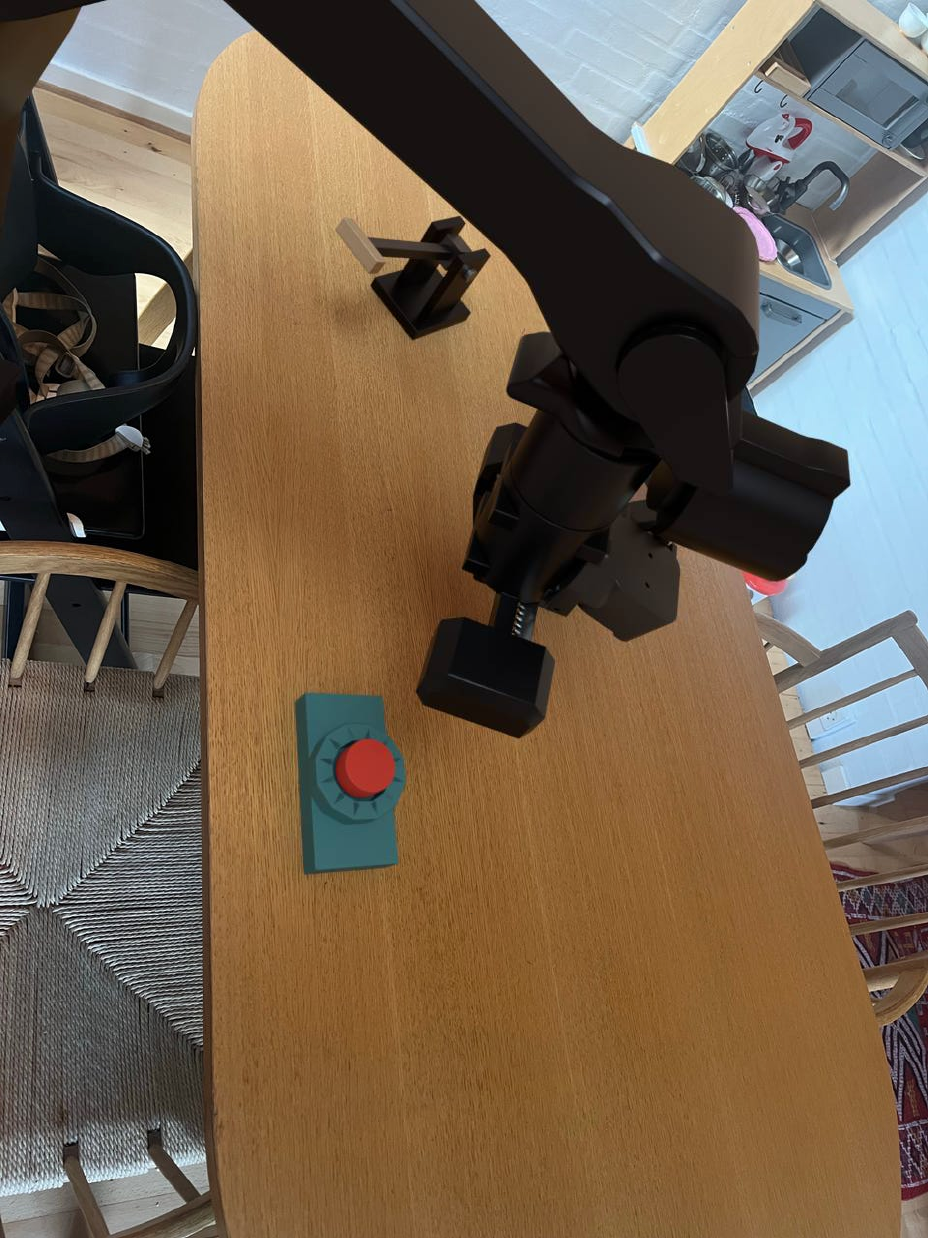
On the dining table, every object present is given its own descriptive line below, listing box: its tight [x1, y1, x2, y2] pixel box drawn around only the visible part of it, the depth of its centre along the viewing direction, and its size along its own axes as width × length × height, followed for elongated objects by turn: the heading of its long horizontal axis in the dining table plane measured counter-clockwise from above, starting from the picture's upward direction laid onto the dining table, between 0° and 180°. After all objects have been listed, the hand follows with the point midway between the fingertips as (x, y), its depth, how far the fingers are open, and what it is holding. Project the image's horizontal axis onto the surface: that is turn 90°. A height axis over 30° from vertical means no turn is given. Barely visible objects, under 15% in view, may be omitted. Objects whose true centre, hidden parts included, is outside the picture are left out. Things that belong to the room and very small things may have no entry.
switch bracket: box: [369, 215, 492, 341], centre depth 77 cm, size 9×7×9 cm
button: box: [336, 739, 395, 798], centre depth 51 cm, size 4×4×2 cm
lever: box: [334, 216, 473, 275], centre depth 69 cm, size 18×4×2 cm, turn 135°
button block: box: [294, 691, 407, 876], centre depth 53 cm, size 12×6×4 cm, turn 9°
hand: (466, 636), depth 49 cm, fingers open, 9 cm apart
